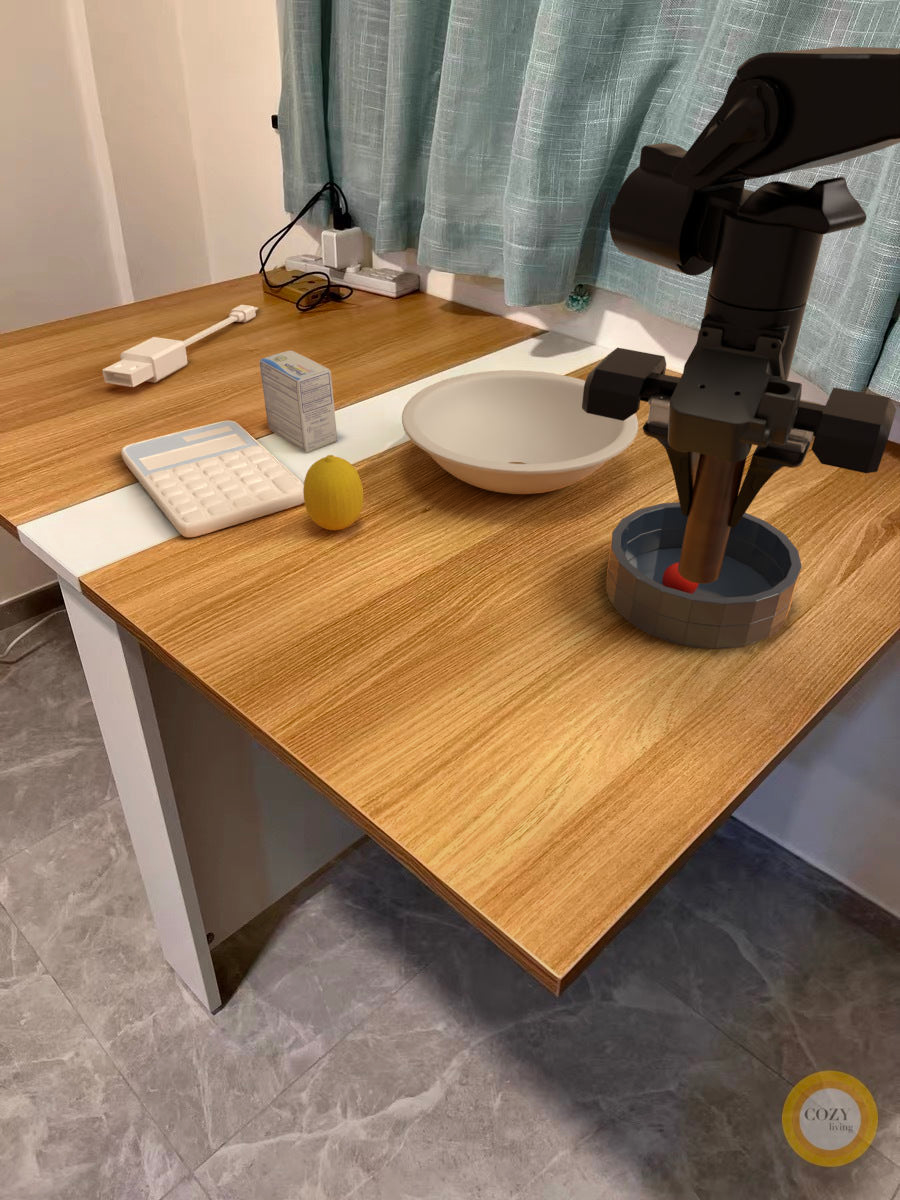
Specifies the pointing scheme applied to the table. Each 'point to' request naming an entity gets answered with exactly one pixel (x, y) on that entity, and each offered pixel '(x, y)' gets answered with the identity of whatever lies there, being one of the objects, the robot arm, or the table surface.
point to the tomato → (677, 580)
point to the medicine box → (299, 400)
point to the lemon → (333, 493)
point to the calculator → (212, 477)
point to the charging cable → (163, 354)
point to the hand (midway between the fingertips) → (709, 519)
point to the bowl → (715, 610)
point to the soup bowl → (514, 430)
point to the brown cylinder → (709, 518)
